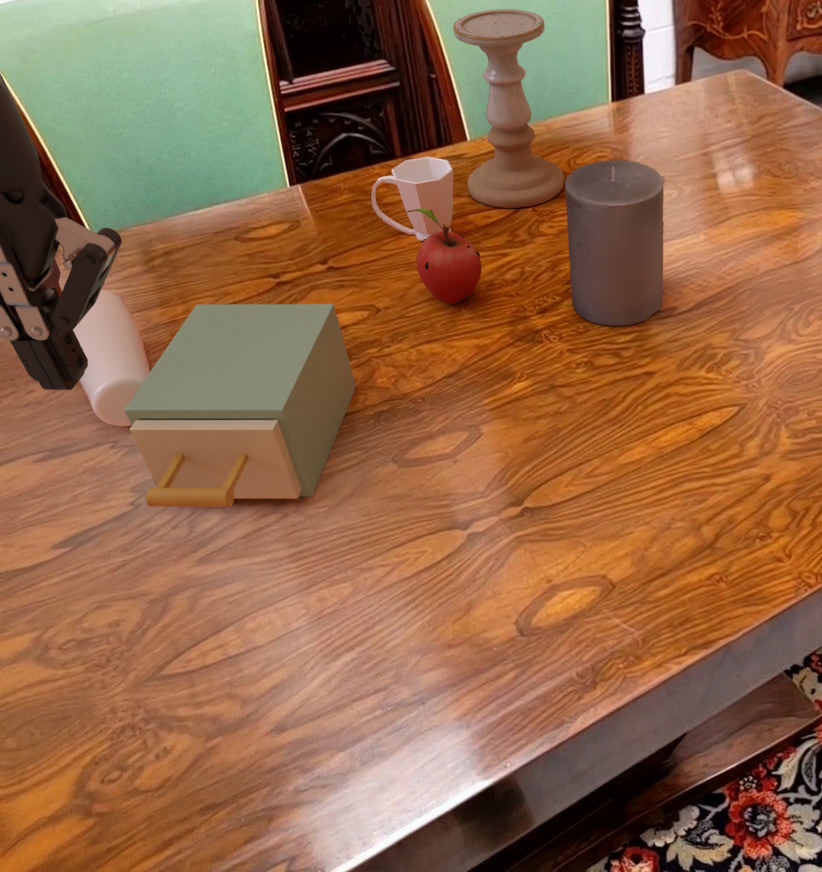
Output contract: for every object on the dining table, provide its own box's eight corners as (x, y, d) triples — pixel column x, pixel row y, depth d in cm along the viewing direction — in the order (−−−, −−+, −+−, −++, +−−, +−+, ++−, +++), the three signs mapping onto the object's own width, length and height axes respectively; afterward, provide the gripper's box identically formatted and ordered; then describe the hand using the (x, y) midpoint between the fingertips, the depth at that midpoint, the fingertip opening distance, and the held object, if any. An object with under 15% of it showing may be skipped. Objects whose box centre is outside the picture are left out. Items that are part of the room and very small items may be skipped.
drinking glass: (136, 446, 86) (102, 358, 94) (185, 393, 85) (146, 309, 94) (65, 417, 80) (36, 326, 89) (117, 360, 80) (82, 275, 89)
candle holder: (495, 218, 113) (473, 48, 100) (452, 181, 121) (426, 18, 108) (582, 192, 118) (572, 26, 105) (536, 157, 126) (521, -1, 113)
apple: (491, 280, 103) (479, 196, 96) (481, 314, 97) (468, 228, 91) (421, 280, 103) (405, 196, 96) (408, 314, 98) (390, 228, 91)
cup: (457, 248, 108) (446, 183, 103) (371, 247, 108) (357, 183, 103) (467, 219, 113) (458, 155, 108) (386, 218, 114) (373, 155, 108)
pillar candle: (564, 284, 102) (554, 153, 92) (651, 272, 103) (649, 141, 94) (582, 334, 95) (573, 197, 85) (675, 319, 96) (677, 183, 86)
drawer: (278, 546, 72) (250, 476, 67) (135, 546, 72) (98, 476, 67) (341, 394, 86) (322, 328, 81) (222, 394, 86) (196, 328, 82)
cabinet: (312, 496, 77) (282, 409, 71) (165, 496, 78) (123, 410, 72) (356, 386, 89) (333, 303, 82) (228, 386, 89) (196, 304, 83)
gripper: (87, 58, 46) (200, 344, 58) (-174, 60, 47) (-10, 345, 58) (7, 118, 41) (150, 422, 52) (-290, 121, 41) (-83, 422, 52)
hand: (65, 381), depth 55 cm, fingers closed
